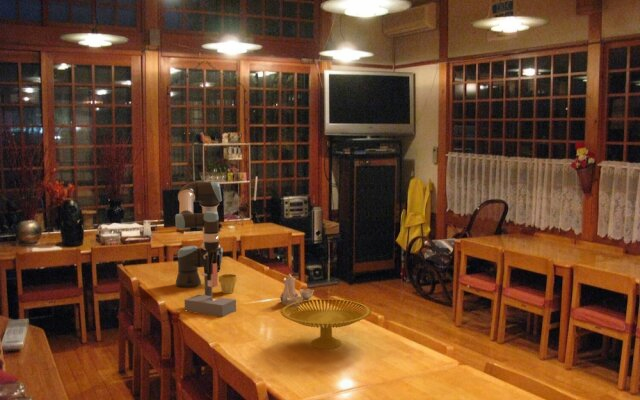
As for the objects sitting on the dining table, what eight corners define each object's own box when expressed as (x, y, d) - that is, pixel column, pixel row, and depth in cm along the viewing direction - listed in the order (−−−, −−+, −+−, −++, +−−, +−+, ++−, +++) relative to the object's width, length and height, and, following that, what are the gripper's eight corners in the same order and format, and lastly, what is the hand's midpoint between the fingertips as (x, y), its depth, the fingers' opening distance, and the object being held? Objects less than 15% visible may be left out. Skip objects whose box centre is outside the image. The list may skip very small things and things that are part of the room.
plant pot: (238, 290, 385) (238, 273, 383) (234, 294, 374) (234, 277, 373) (221, 289, 386) (221, 273, 384) (217, 294, 375) (216, 277, 374)
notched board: (184, 311, 342) (184, 299, 341) (199, 305, 353) (198, 294, 352) (222, 316, 331) (222, 305, 330) (236, 310, 342) (235, 299, 341)
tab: (208, 286, 342) (207, 264, 340) (212, 285, 345) (211, 262, 343) (213, 287, 340) (212, 264, 339) (217, 285, 343) (216, 263, 342)
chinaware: (302, 314, 340) (304, 283, 338) (271, 309, 344) (274, 278, 342) (315, 300, 367) (317, 271, 365) (286, 295, 371) (289, 267, 369)
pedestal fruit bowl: (319, 323, 318) (319, 293, 317) (389, 340, 293) (389, 308, 291) (261, 345, 287) (260, 312, 286) (333, 366, 262) (333, 330, 260)
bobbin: (195, 304, 355) (194, 273, 353) (206, 299, 364) (206, 269, 362) (210, 306, 350) (209, 275, 348) (221, 301, 359) (220, 271, 357)
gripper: (207, 244, 331) (208, 289, 333) (226, 239, 345) (227, 282, 348) (195, 243, 334) (197, 288, 337) (215, 238, 349) (216, 281, 351)
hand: (212, 285), depth 342 cm, fingers closed on tab, 3 cm apart
